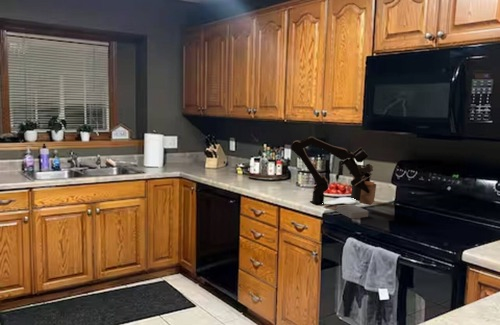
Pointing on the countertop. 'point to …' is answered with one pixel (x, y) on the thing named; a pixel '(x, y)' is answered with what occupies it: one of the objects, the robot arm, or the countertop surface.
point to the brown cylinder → (368, 195)
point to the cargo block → (369, 183)
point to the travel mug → (356, 190)
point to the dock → (352, 211)
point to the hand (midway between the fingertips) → (370, 191)
